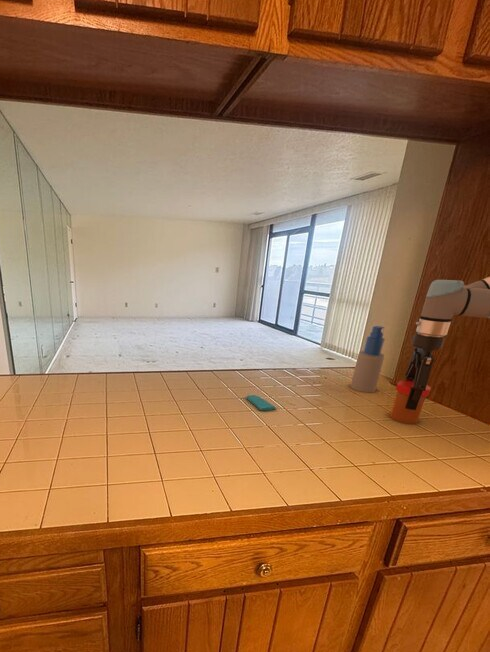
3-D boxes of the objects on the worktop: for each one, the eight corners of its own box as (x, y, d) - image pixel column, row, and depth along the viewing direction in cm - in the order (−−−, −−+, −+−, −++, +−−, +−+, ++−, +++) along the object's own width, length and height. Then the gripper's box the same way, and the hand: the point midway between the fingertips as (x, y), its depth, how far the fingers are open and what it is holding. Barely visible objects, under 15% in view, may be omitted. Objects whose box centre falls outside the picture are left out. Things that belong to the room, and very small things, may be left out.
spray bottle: (380, 390, 138) (397, 327, 129) (364, 393, 135) (381, 329, 125) (360, 383, 146) (375, 323, 136) (345, 386, 143) (360, 325, 133)
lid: (415, 398, 105) (418, 391, 104) (389, 388, 113) (391, 382, 112) (435, 394, 108) (437, 388, 107) (408, 385, 116) (410, 379, 115)
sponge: (260, 394, 129) (246, 393, 127) (276, 407, 118) (261, 406, 117) (259, 398, 129) (245, 397, 128) (275, 411, 119) (260, 410, 117)
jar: (422, 421, 112) (433, 390, 108) (406, 425, 109) (417, 392, 105) (400, 412, 119) (409, 382, 114) (384, 415, 116) (393, 384, 112)
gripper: (408, 327, 114) (389, 391, 123) (423, 339, 96) (399, 413, 104) (435, 329, 111) (414, 394, 120) (456, 343, 93) (429, 418, 102)
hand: (407, 403), depth 112 cm, fingers closed on lid, 9 cm apart
